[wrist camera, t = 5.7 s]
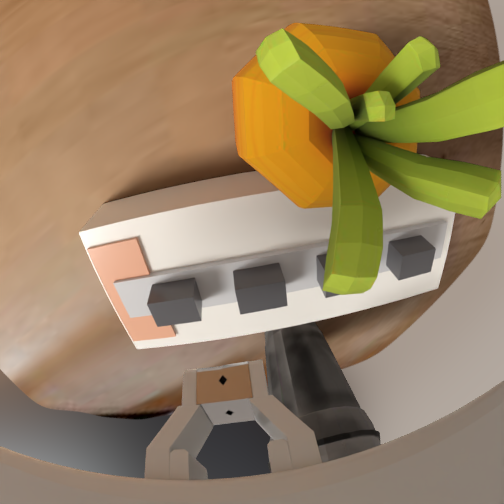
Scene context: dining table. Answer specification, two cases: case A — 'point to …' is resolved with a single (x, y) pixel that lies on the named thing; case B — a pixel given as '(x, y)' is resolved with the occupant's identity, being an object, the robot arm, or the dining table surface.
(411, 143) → the carrot
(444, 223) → the breaker panel
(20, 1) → the dining table surface
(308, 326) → the beverage cup
